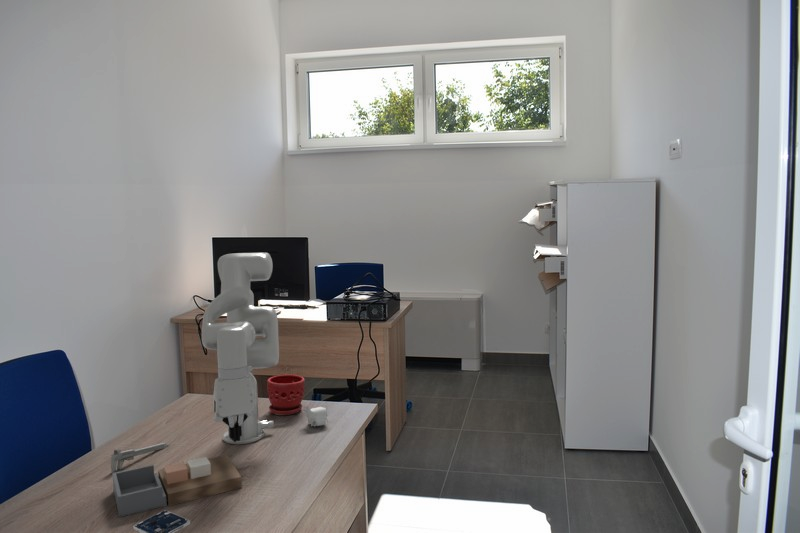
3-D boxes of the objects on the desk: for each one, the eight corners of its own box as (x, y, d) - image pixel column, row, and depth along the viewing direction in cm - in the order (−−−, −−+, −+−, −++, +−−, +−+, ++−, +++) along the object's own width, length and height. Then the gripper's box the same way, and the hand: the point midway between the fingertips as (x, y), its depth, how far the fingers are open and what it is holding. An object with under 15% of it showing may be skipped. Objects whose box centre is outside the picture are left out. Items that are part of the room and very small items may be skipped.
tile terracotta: (184, 472, 157) (183, 461, 157) (187, 479, 153) (187, 468, 153) (164, 477, 155) (163, 466, 154) (167, 484, 150) (166, 473, 150)
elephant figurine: (312, 432, 192) (311, 410, 192) (302, 423, 201) (301, 402, 200) (334, 427, 196) (333, 406, 195) (323, 418, 204) (322, 398, 204)
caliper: (114, 474, 164) (112, 452, 164) (111, 473, 165) (109, 451, 164) (169, 446, 183) (168, 426, 183) (167, 445, 184) (165, 425, 183)
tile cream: (206, 467, 160) (206, 456, 160) (211, 474, 156) (210, 463, 155) (187, 471, 158) (186, 460, 157) (191, 479, 153) (190, 467, 153)
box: (157, 481, 159) (156, 463, 158) (166, 505, 146) (165, 485, 145) (113, 491, 153) (112, 473, 153) (119, 517, 141) (117, 497, 140)
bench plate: (226, 465, 168) (225, 454, 168) (241, 487, 155) (241, 476, 154) (158, 480, 159) (158, 469, 159) (168, 505, 146) (168, 494, 145)
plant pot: (295, 419, 204) (294, 385, 203) (261, 415, 208) (260, 382, 207) (311, 406, 217) (310, 374, 216) (279, 403, 221) (278, 372, 220)
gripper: (256, 366, 166) (258, 430, 167) (201, 374, 158) (204, 441, 160) (264, 371, 159) (267, 438, 161) (207, 380, 152) (210, 450, 153)
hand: (235, 439), depth 160 cm, fingers closed
